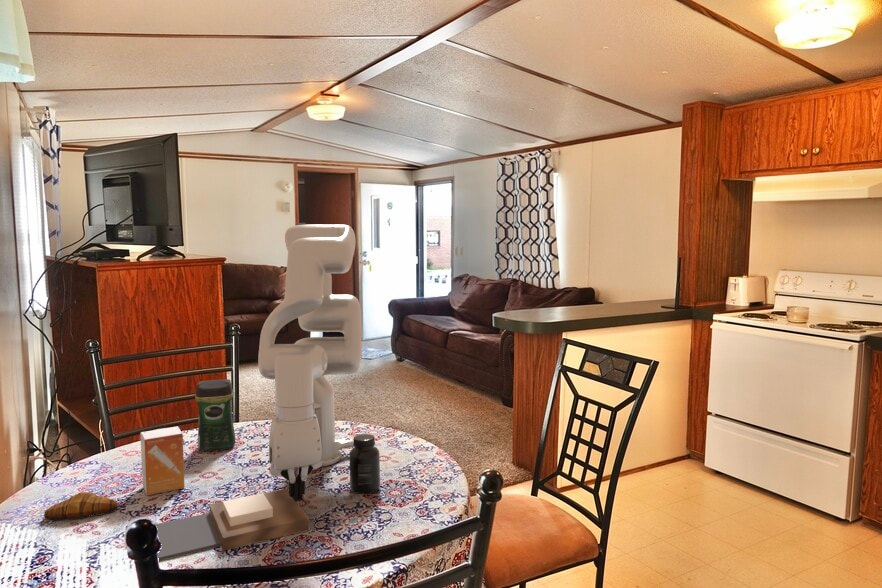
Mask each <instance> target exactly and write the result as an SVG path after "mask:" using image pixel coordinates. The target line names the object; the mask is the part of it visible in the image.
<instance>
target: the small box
mask: <svg viewBox="0 0 882 588" xmlns="http://www.w3.org/2000/svg"><path fill="white" fill-rule="evenodd" d="M139 434H140V454H141V456H140V459H141V477H142V478H141V479H142V488H143V490H144V492H145V495H146V496H147V497H148V496H151V495H156V494H160V493H166V492H171V491H176V490H180V489H181V490H182V489H185V464H184V463H185V462H184V461H185V460H184V436H183V432H182V431H181V429H180V427H179V426H173V427H172V426H171V427H163V428H157V429H153V430H147V431H141V432H140V433H139Z"/></svg>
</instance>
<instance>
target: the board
mask: <svg viewBox="0 0 882 588" xmlns="http://www.w3.org/2000/svg"><path fill="white" fill-rule="evenodd" d="M263 494H264V495H265V497H266V498H267V500H268V502H269V503H270V505H271V506H272V508H273V517H270V518H266V519H262V520H257V521H253V522H248V523H244V524H239V525H235V526H231V527H230V524H229V522H228V520H227V518H226V515H225V513H224V511H223V501H220V502H219V501H218V502H216V503H215V502H214V503H210V504H209V506H208V507H209V513H210V515H211V517H212V520H213V522H214V525H215V527H216V530H217V532H218V535H219V537H220V540H221V543H222V546H221V548H222V551H223V552H225V551H228V550H231V549H232V550H233V549H237V548H240V547H245V546H249V545H253V544H257V543H261V542H266V541H269V540H274V539H278V538H282V537H286V536H290V535H294V534H299V533H302V532H303V533H304V532H307V531H309V530H310V518H309V516H308V515H307V514H306V512H305V511H304V509H303V508H302V506H300V503H298V501H296V502H295V501H294V500H293V498H292V497H290V496H289V488H283V489H279V490H278V489H277V490H273V491H268V492H264V493H263Z"/></svg>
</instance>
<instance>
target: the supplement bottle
mask: <svg viewBox="0 0 882 588" xmlns="http://www.w3.org/2000/svg"><path fill="white" fill-rule="evenodd" d="M352 441H353V447H352V448H351V450H350V451H349V456H348V457H349V488H350V490H351V491H352V492H353V493H356V494H360V495H361V494H363V495H364V494H371V493H374V492H377V491H378V490H379V488H380V487H381V469H380V468H381V467H380V466H381V465H380V464H381V463H380V461H381V460H380V451H379V448H378V447H376V446H375V445H376V439H375V435H373V434H368V433H363V434H356V435H355V436H354V437H353V439H352Z"/></svg>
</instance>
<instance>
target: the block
mask: <svg viewBox="0 0 882 588" xmlns="http://www.w3.org/2000/svg"><path fill="white" fill-rule="evenodd" d="M222 502H223V511H224V513H225V515H226V518H227V520H228V522H229V524H230V527H231V526H235V525H239V524H244V523H248V522H253V521H257V520H262V519H266V518H270V517H273V508H272V506H271V505H270V503H269V502H268V500H267V498H266V497H265V495H264V494H263V493H256V494H252V495H247V496H243V497H237V498H232V499H228V500H223V501H222Z"/></svg>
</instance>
